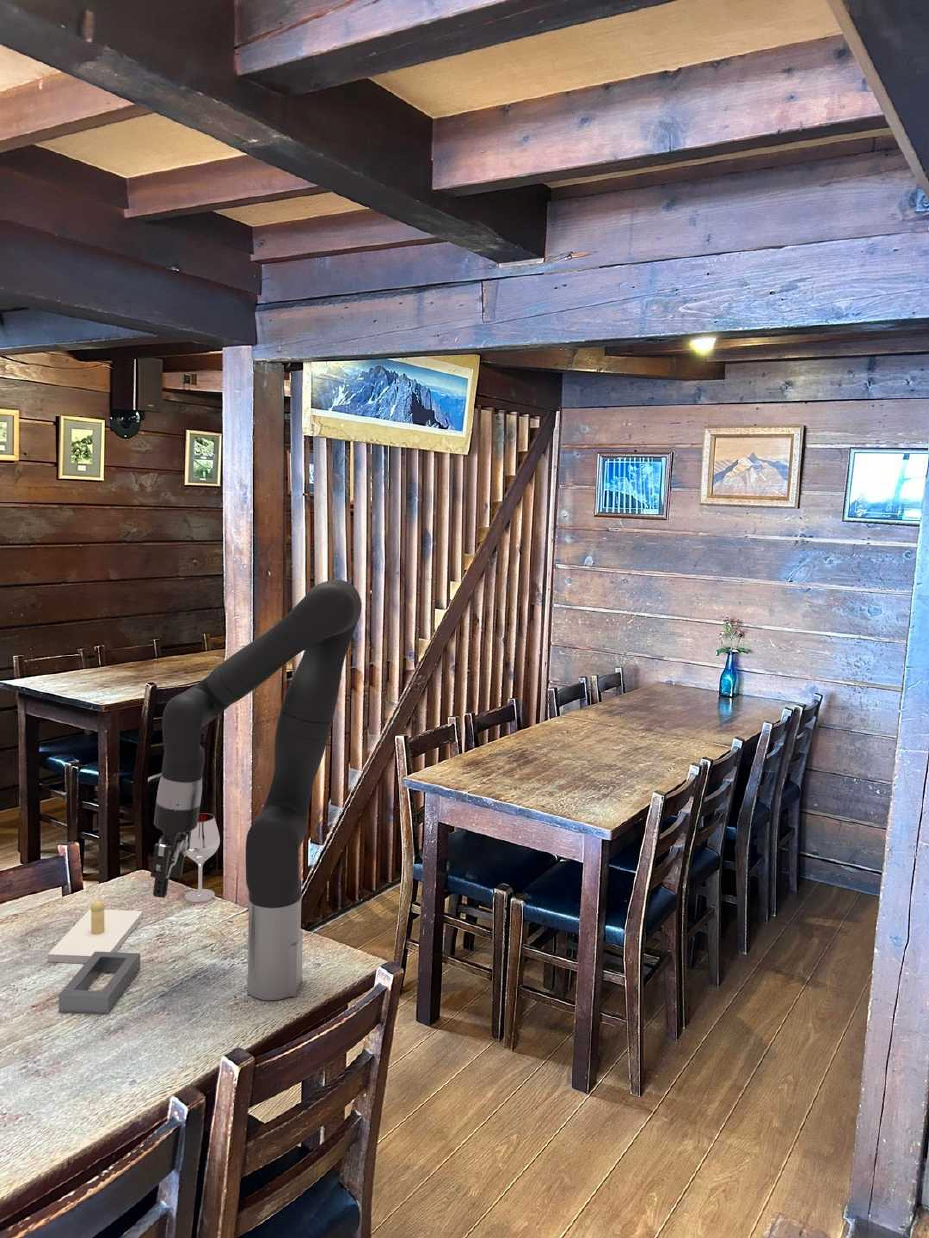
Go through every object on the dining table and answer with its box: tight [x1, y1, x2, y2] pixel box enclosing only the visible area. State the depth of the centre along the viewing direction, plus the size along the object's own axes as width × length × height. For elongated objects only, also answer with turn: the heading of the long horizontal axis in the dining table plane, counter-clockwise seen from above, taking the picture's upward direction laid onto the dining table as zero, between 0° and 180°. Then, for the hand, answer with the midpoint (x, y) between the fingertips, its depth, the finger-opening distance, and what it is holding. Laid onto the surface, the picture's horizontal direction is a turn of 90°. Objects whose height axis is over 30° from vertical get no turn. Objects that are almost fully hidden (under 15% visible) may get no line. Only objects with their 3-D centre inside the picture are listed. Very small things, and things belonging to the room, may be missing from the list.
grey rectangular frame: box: [58, 951, 141, 1015], centre depth 159 cm, size 15×8×3 cm, turn 0°
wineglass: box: [184, 812, 221, 903], centre depth 197 cm, size 8×8×18 cm
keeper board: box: [47, 900, 144, 964], centre depth 176 cm, size 11×19×8 cm, turn 0°
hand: (167, 886), depth 161 cm, fingers open, 8 cm apart
